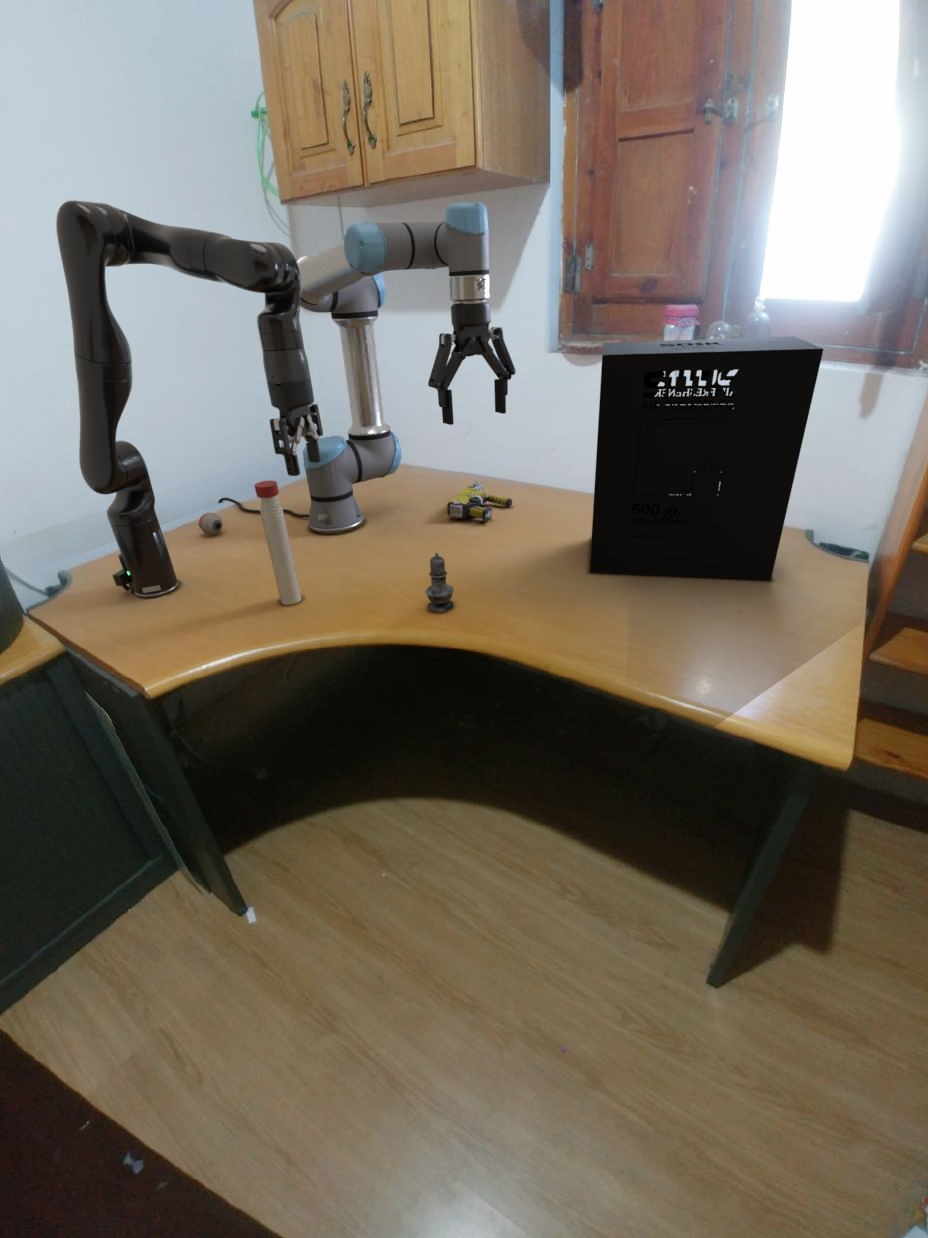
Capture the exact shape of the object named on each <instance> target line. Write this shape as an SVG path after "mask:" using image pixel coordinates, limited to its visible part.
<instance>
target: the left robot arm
mask: <svg viewBox="0 0 928 1238" xmlns="http://www.w3.org/2000/svg"><path fill="white" fill-rule="evenodd" d="M55 223H56V224H55V226H56V237H57V243H58V248H59V254H60V259H61V264H62V268H63V275H64V279H65V284H66V290H67V295H68V297H67V298H68V302H69V303H68V304H69V311H70V317H71V319H70V320H71V329H72V339H73V340H72V341H73V356H74V362H75V363H74V365H75V366H74V368H75V375H76V382H77V391H78V393H77V394H78V410H79V451H78V457H79V458H78V460H79V470H80V473H81V475H82V478H83V480H84V482H85V483H86V486H88V487H89V488H90V489H91V490H92V491H93V492H95V493H97V494H98V495H112V494H115V496H114V499H113V501H112V503H110V505H109V506H108V507H107V509H106V517H107V519H108V522H109V525H110V528H111V530H112V532H113V535H114V539H115V541H116V543H117V546H118V549H119V554H118V559H119V562H120V565H121V567H122V569H119V571H117V572H115V573H113V574H112V575H111V576H112V578H113V581H114V583H115V586H116V587H122V588H123V590H125V591H126V592H128V591H130V592H131V594H135V596H136V597H138V598H140V599H141V598H142V599H150V598H157V597H162V596H164V595H167V594H169V593H172V592H173V591H175V590H176V589H177V588H178V587H179V585H180V582H179V580H178V578H177V574H176V571H175V567H174V565H173V561H172V559H171V556H170V552H169V549H168V546H167V543H166V540H165V537H164V533H163V531H162V528H161V525H160V521H159V519H158V515H157V512H156V509H155V504H156V499H155V493H154V489H153V486H152V481H151V477H150V474H149V473H150V472H149V470H148V467H147V463H146V462H145V459H144V457H143V455H142V454H141V452H140V451H139V449H138V448H137V447H136V446H135V445H134V444H133V443H131V442H129V441H126V440H117V431H118V426H119V423H120V420H121V417H122V416H123V413H124V410H125V408H126V406H127V403H128V401H129V398H130V397H131V392H132V389H133V357H132V350H131V346H130V343H129V341H128V339H127V336H126V335H125V332H124V331H123V329H122V327H121V326H120V324H119V322H118V321H117V319H116V317H115V315H114V313H113V311H112V309H111V306H110V303H109V299H108V294H107V283H106V282H107V281H106V268H112V267H113V268H115V267H116V268H117V267H122V266H126V265H157V266H161V267H162V266H163V267H165V268H169V269H172V270H173V271H176V272H177V273H180V274H183V275H186V276H188V277H192V278H196V279H201V280H205V281H210V282H216V283H221V284H227V285H230V286H231V287H232V286H233V287H234V288H235V287H236V288H238V289H241V290H244V291H247V292H253V293H257V294H264V308H263V309H262V311H260V312H259V313H258V314H257V316H256V326H257V331H258V336H259V342H260V346H261V352H262V363H263V369H264V374H265V379H266V385H267V390H268V395H269V401H270V404H271V406H272V407H273V408H275V409H278V411H279V417H278V418H270V420H269V425H270V426H269V427H270V431H271V437H272V443H273V449H274V453H275V455H281V456H283V458H284V463H285V468H286V473H287V475H288V476H290V477H298V476H299V475H301V469H300V463H299V458H298V454H297V449H298V445H299V444H300V443H301V440H302V437H303V439H304V441H305V447H307V453H308V458H309V461H310V462H313V463H318V462H320V461H321V458H320V452H319V446H318V442H319V439H320V437H323V435H324V431H323V430H324V429H323V426H322V425H323V424H322V420H321V415H320V410H319V405H318V403H314V402H315V397H314V390H313V385H312V377H311V372H310V365H309V361H308V357H307V356H308V355H307V353H306V350H305V345H304V338H303V333H302V327H301V322H300V314H301V313H300V312H301V306H300V294H301V280H300V272H299V267H298V264H297V261H296V260H297V259H296V257H295V255H294V253H293V252H292V251H291V250H290V248H289V247H288V246H286V245H284V244H283V243H280V242H273V241H272V242H270V241H254V240H244V239H237V238H233V237H231V236H229V235H227V234H224V233H219V232H215V231H209V230H204V229H200V228H199V229H198V228H193V227H185V226H174V225H166V224H161V223H158V222H154V221H151V220H148V219H145V218H142V217H140V216H138V215H136V214H132V213H130V212H127V211H126V210H123V209H120V208H118V207H116V206H113V205H111V204H107V203H103V202H95V201H86V200H66V201H65V202H63V203H61V205H60V206H59V208H58V210H57V213H56V221H55ZM280 442H281V445H280Z"/></svg>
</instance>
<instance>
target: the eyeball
mask: <svg viewBox="0 0 928 1238" xmlns="http://www.w3.org/2000/svg"><path fill="white" fill-rule="evenodd" d="M198 526H199V528H200V530H201V531H202V532H203V533H204V534H206V535H212V536H214V535H216V534H218V533H220V532H221V531H222V529H223V520H222V518H221V517H220V515H218V514H217V513H214V512H206V513H203V515H201V516H200V517H199V520H198Z"/></svg>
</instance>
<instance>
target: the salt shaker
mask: <svg viewBox="0 0 928 1238" xmlns="http://www.w3.org/2000/svg"><path fill="white" fill-rule="evenodd" d="M429 566H430V572H429V573H428V575H429V577H430V581H431V583H430V584H431V585H430V586H428V587H426V589H425V590H424V592H425V595H426V596H427V599H428V600H429V601H430V602H428V603H427V604H428V606H427V608H428V609H429V610H430V611H432V612H435V613H443V612H448V611H450V610H451V609H453V607H454V603H453V601H452V600H451V599H452V597H453V593H454V591H455V589H454V587H453V586H452V585H450V584H448V583H447V575H448V572H447V571H446V565H445V559H444V558H443V556H440V555H439V553H438V552H435V554H434V556H432V557H431V558H430V559H429Z"/></svg>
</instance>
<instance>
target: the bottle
mask: <svg viewBox="0 0 928 1238" xmlns="http://www.w3.org/2000/svg"><path fill="white" fill-rule="evenodd" d="M259 503H260V504H259V506H260V508H259V510H261V511H260V512H261V513H260V518H261V522H262V526H263V531H264V535H265V540H266V544H267V548H268V553H269V557H270V560H271V565H272V569H273V574H274V579H275V583H276V586H277V592H278V595H279V599H280V604H282V605H284V606H291V605H296V604H298V603H300V602H301V601H302V593H301V588H300V583H299V579H298V574H297V570H296V565H295V561H294V555H293V551H292V546H291V541H290V536H289V531H288V527H287V521H286V517H285V512H283V507H282V505H281V502H280V501H279V498H278V495H276V496H273V497H269V498H260V501H259Z"/></svg>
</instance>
